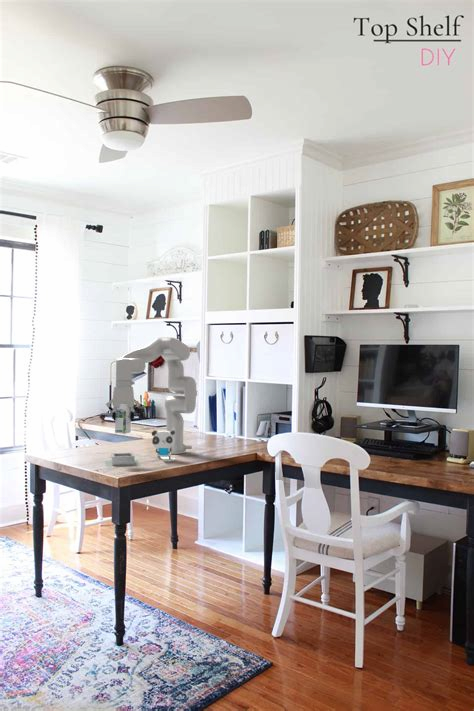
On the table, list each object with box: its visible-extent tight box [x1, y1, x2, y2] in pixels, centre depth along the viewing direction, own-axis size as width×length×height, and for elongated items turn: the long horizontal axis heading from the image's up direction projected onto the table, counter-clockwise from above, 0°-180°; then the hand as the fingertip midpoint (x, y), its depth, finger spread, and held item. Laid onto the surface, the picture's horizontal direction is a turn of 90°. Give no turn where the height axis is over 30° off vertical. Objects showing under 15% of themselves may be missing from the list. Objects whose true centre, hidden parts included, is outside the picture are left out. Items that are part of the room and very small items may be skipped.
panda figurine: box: [151, 429, 176, 462], centre depth 312 cm, size 12×11×15 cm
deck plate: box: [104, 459, 141, 467], centre depth 292 cm, size 16×14×2 cm
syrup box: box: [114, 404, 132, 435], centre depth 292 cm, size 6×6×14 cm
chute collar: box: [110, 452, 136, 465], centre depth 292 cm, size 10×10×4 cm
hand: (123, 420), depth 292 cm, fingers closed on syrup box, 7 cm apart
